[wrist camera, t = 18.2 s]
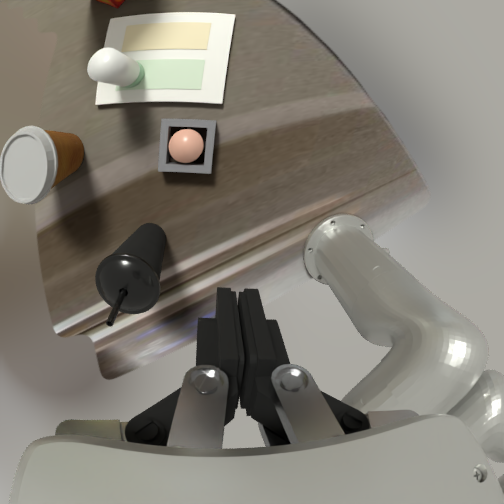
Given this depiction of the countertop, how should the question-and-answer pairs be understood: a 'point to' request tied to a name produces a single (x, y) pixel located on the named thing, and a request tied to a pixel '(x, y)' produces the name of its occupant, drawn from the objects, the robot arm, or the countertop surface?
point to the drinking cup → (133, 272)
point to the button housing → (179, 166)
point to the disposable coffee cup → (38, 162)
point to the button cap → (186, 145)
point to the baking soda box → (112, 2)
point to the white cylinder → (115, 68)
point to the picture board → (171, 57)
